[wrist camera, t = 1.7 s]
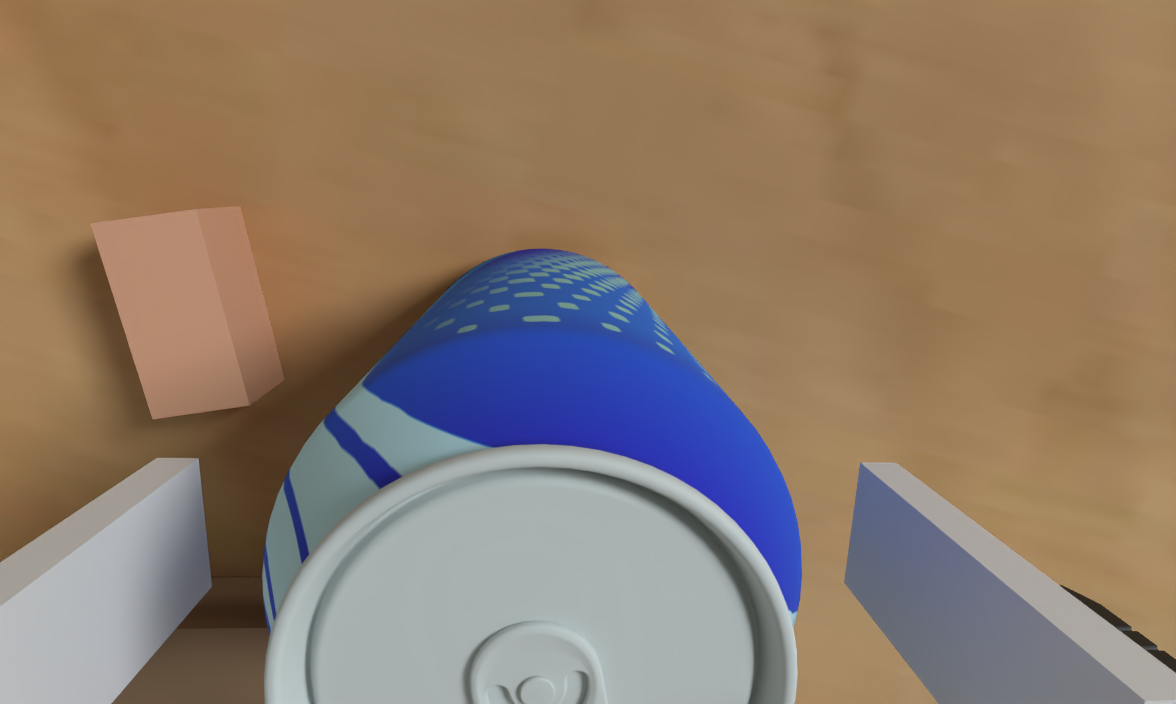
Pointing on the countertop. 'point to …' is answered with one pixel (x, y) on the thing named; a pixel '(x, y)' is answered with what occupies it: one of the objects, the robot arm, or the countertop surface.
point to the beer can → (533, 515)
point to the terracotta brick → (191, 309)
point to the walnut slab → (210, 651)
